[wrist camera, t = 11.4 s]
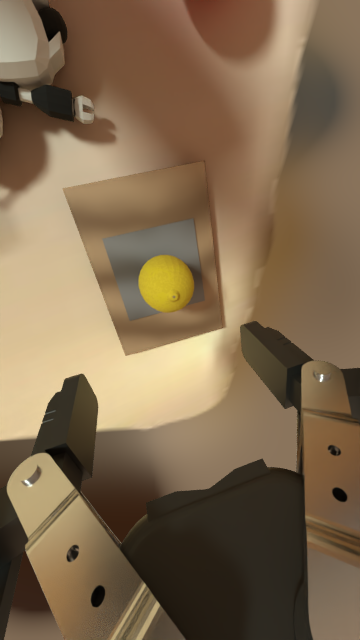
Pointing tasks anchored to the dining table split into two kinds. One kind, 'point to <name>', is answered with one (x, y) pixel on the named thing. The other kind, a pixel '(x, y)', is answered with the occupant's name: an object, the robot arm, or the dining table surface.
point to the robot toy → (36, 60)
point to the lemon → (166, 283)
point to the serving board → (149, 249)
